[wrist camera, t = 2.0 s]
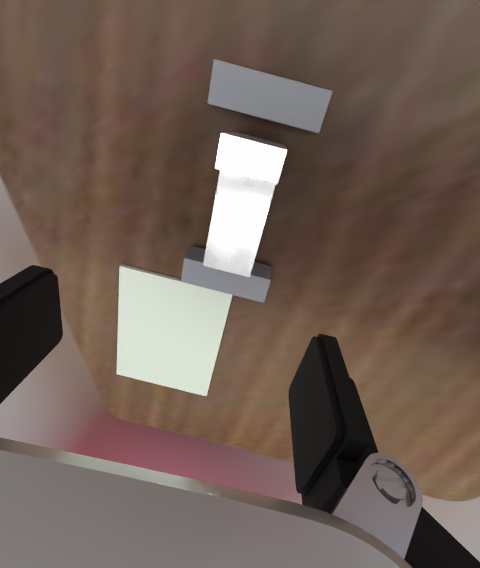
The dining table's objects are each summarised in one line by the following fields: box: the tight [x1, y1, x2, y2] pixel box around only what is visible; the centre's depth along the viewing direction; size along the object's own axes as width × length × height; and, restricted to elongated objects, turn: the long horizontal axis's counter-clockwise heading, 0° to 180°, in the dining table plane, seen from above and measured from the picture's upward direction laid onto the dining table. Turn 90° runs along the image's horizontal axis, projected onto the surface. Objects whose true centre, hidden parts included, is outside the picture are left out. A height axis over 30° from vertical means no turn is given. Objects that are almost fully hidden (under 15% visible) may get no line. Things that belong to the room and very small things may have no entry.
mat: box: [117, 264, 232, 396], centre depth 34 cm, size 12×16×1 cm
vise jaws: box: [181, 59, 333, 303], centre depth 24 cm, size 8×17×3 cm, turn 167°
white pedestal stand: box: [203, 132, 287, 277], centre depth 23 cm, size 4×10×8 cm, turn 167°
